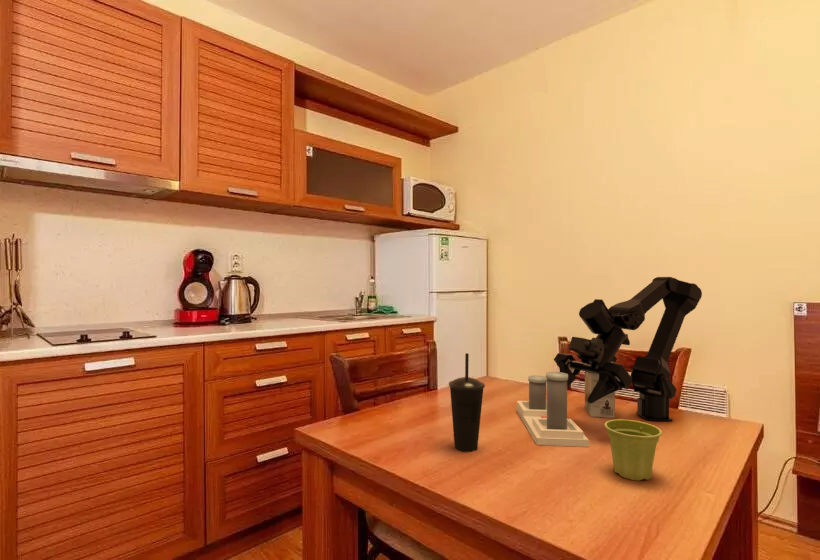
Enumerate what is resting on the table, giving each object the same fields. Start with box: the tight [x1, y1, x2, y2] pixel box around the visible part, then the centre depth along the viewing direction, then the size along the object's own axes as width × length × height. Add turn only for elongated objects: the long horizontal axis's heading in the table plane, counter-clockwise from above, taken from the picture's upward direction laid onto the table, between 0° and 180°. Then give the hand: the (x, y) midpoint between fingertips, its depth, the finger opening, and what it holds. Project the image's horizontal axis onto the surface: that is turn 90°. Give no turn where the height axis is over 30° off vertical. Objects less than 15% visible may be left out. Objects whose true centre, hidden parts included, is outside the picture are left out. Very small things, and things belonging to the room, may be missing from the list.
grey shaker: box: [545, 371, 568, 430], centre depth 99 cm, size 5×5×13 cm
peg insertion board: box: [516, 374, 590, 448], centre depth 106 cm, size 11×25×10 cm, turn 176°
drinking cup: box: [448, 352, 486, 453], centre depth 92 cm, size 8×8×20 cm
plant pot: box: [604, 418, 663, 482], centre depth 80 cm, size 9×9×9 cm
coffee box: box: [584, 361, 617, 419], centre depth 119 cm, size 9×6×16 cm
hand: (572, 397), depth 101 cm, fingers open, 9 cm apart
